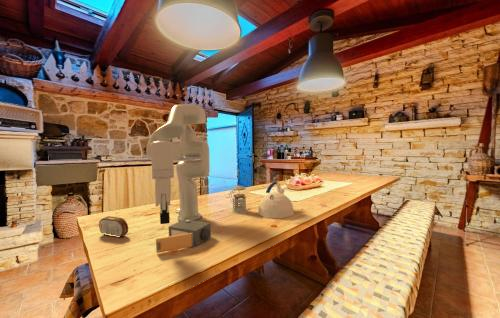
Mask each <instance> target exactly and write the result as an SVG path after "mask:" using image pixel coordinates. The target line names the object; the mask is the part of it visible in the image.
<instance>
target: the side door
mask: <svg viewBox="0 0 500 318" xmlns="http://www.w3.org/2000/svg"><path fill="white" fill-rule="evenodd" d="M191 247H192V248H193V247H194V246H193V233H187V234H181V235H175V236H169V235H168V236H163V237H158V238H155V249H156V254H159V253H166V252H170V251H176V250H181V249H186V248H187V249H188V248H191Z"/></svg>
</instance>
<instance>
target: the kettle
mask: <svg viewBox="0 0 500 318" xmlns="http://www.w3.org/2000/svg"><path fill="white" fill-rule="evenodd" d="M274 186H276V192H274V191H273V192H271V190H272V189H273V187H274ZM265 193H267V194H266V195H265V196H263V197H262V198H261V200H260V202H259V204H258V210H257V214H258V215H259V216H261V217H262V218H266V219H273V218H274V220H275V219H276V220H277V219H286V218H290V217H292V216H293V215H294V214H295V212H294V205H293V203H292V201H291V199H290V198H289V197H288V196H286V195H285V189H284V188H282V186H281V183H279V181H273V182H272V183H270V184H269V186H268V187H267V189H266V191H265Z"/></svg>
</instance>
